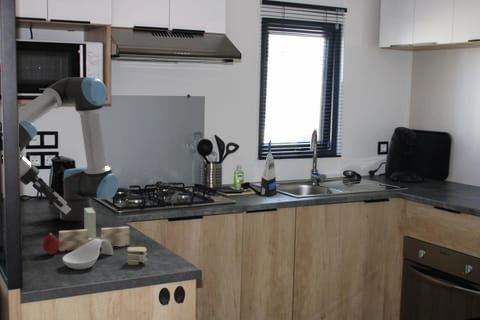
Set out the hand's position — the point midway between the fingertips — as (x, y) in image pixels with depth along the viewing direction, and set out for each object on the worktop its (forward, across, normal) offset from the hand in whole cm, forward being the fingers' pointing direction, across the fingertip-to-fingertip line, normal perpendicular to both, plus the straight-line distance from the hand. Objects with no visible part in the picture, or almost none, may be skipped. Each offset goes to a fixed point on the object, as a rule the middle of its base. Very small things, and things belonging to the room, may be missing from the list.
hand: (66, 208), depth 246 cm
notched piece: (+16, -1, -3) cm, 16 cm away
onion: (+4, +17, -15) cm, 23 cm away
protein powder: (+95, -79, +76) cm, 145 cm away
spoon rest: (+13, +31, -7) cm, 34 cm away
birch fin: (+16, +12, -3) cm, 20 cm away
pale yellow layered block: (+24, +37, +4) cm, 44 cm away
